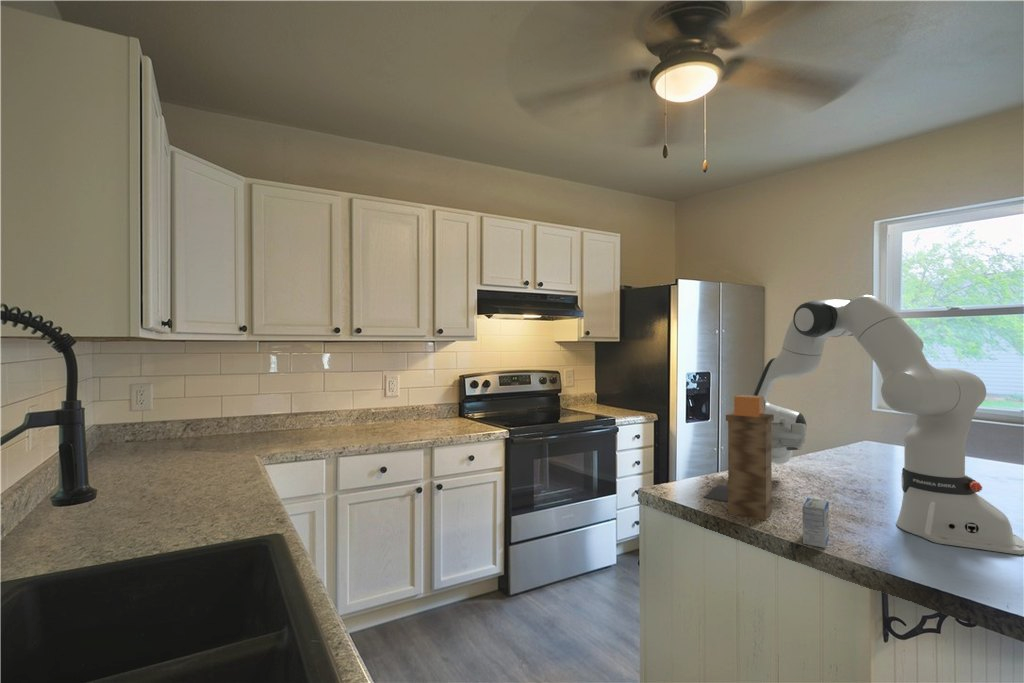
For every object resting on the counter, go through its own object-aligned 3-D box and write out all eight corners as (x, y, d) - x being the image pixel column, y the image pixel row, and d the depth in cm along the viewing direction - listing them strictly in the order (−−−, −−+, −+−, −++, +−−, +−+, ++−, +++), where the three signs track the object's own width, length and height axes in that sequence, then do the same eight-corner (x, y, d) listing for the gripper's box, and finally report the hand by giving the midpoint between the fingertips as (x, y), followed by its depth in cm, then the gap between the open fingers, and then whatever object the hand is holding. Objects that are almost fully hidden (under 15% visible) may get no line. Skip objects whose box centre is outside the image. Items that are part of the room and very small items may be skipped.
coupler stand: (774, 511, 131) (773, 414, 131) (767, 521, 124) (767, 418, 124) (733, 504, 137) (733, 411, 137) (725, 513, 130) (725, 415, 130)
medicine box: (825, 549, 107) (825, 509, 107) (802, 544, 110) (802, 505, 110) (829, 538, 113) (829, 500, 113) (806, 533, 116) (806, 496, 116)
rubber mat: (749, 490, 150) (749, 489, 150) (736, 503, 137) (736, 502, 137) (718, 485, 156) (718, 484, 156) (703, 497, 143) (703, 496, 143)
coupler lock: (771, 410, 139) (771, 393, 139) (759, 417, 125) (759, 398, 126) (748, 408, 143) (748, 391, 143) (734, 415, 129) (734, 396, 129)
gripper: (737, 424, 163) (728, 407, 153) (809, 431, 151) (803, 412, 141) (735, 442, 160) (725, 426, 151) (807, 450, 148) (802, 433, 139)
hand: (764, 419), depth 146 cm, fingers open, 8 cm apart
